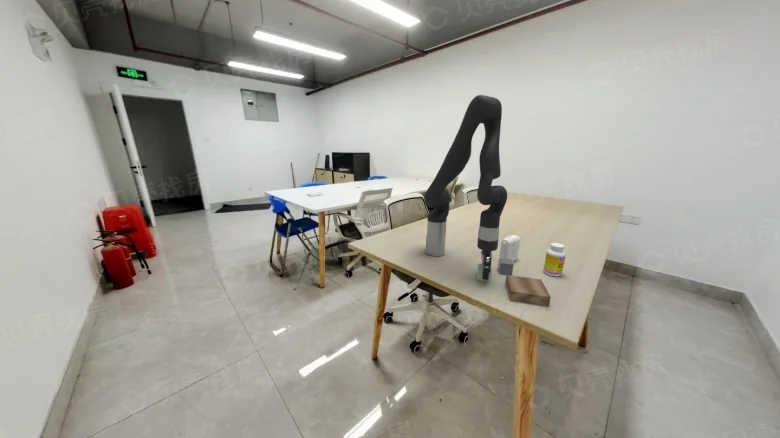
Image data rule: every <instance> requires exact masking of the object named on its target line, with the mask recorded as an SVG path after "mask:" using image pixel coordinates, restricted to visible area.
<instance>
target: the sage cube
mask: <svg viewBox="0 0 780 438" xmlns="http://www.w3.org/2000/svg"><path fill="white" fill-rule="evenodd" d="M476 268H477V271H476V280H477V281H482V282H491V279H492V272H493V271H492V268H491V269H490V270H491V271H490V272H489V278H488V280H483V279H482V275H483V265H482V263H477V267H476ZM485 268H488V266H485Z"/></svg>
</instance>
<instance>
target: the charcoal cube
mask: <svg viewBox="0 0 780 438" xmlns="http://www.w3.org/2000/svg"><path fill="white" fill-rule="evenodd" d="M497 270H498V275H505V276H506V275H511V276H513V270H514V261H513V262H512V260H511V259H502V258H500V257H499V258H498V264H497Z"/></svg>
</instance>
